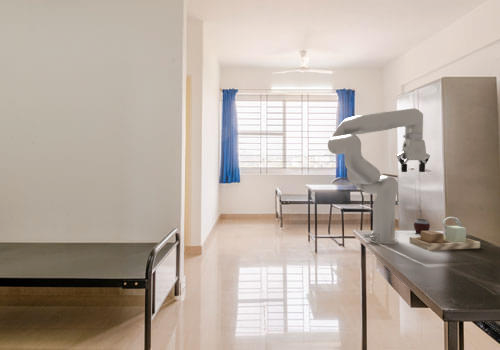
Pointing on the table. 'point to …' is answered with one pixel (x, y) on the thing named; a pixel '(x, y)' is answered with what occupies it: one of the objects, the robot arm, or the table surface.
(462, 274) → the table surface
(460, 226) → the watch
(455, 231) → the sage block
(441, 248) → the slot tray
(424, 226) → the mate gourd
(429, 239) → the walnut block
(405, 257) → the table surface
